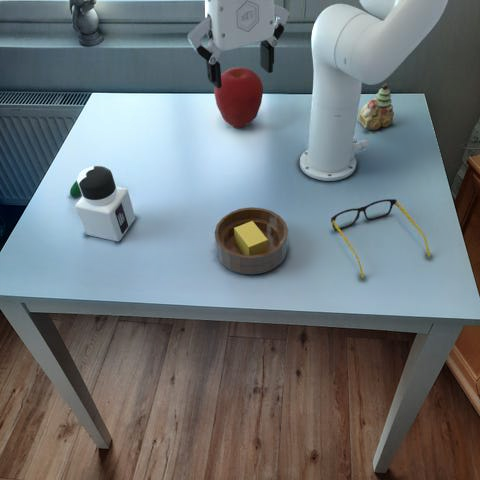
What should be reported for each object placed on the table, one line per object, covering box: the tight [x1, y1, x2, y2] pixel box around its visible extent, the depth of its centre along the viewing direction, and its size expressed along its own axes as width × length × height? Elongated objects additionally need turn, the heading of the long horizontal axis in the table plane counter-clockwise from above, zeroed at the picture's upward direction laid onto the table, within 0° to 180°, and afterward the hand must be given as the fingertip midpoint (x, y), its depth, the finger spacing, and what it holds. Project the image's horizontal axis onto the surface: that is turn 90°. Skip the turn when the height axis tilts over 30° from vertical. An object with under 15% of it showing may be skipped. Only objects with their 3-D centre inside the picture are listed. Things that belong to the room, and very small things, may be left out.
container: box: [74, 165, 136, 243], centre depth 92 cm, size 8×8×13 cm
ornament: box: [358, 83, 395, 131], centre depth 112 cm, size 8×6×10 cm
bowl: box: [214, 206, 289, 275], centre depth 90 cm, size 14×14×5 cm
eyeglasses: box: [330, 198, 431, 279], centre depth 90 cm, size 14×14×4 cm
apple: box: [213, 66, 264, 129], centre depth 114 cm, size 12×12×13 cm
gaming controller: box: [69, 170, 83, 198], centre depth 103 cm, size 9×4×6 cm
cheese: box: [234, 221, 268, 256], centre depth 89 cm, size 4×6×4 cm, turn 27°
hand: (241, 77), depth 80 cm, fingers open, 9 cm apart
